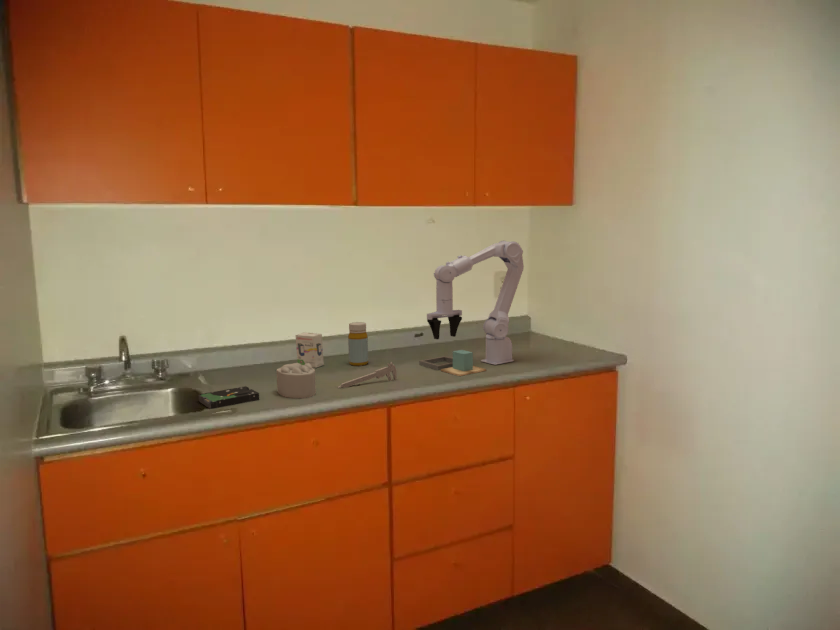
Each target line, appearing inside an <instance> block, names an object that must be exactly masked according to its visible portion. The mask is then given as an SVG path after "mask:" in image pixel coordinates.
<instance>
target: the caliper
mask: <svg viewBox="0 0 840 630" xmlns="http://www.w3.org/2000/svg"><path fill="white" fill-rule="evenodd" d="M391 374H392V376H393V377H392V376H391ZM385 376H386V378H387V379H388V381H389V382H390V381H392V378H393V380H394V381H396V380H397V368H396V365H395V364H394V363H393V361H390V363H388V362H387V366H384V367H382V368H378V369H376V370H374V372H371V373H368V374H365V375H361V376H359V377H357V378H354V379H351V380H347V381H345V382H343V383H340V385H339V386H337V389H341V388H343V389H344V388H349V387H352V386H354V385H357V384H360V383H364V382H366V381H368V380H372V379H374V378H376V379H377V380H379V379H380V378H383V377H385Z"/></svg>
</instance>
